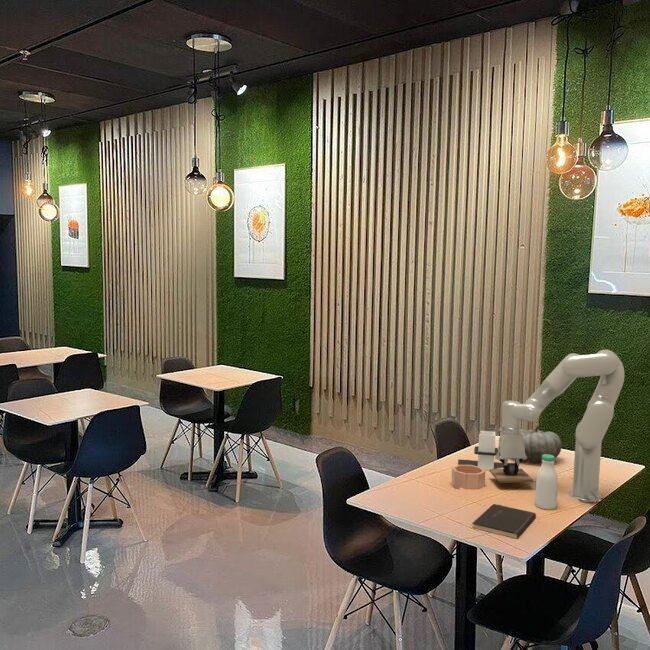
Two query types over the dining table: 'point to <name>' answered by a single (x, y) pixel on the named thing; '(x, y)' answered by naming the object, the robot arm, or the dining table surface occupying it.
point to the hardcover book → (504, 520)
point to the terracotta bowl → (468, 477)
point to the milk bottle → (546, 484)
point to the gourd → (540, 444)
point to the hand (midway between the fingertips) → (510, 473)
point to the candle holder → (484, 452)
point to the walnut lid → (510, 475)
